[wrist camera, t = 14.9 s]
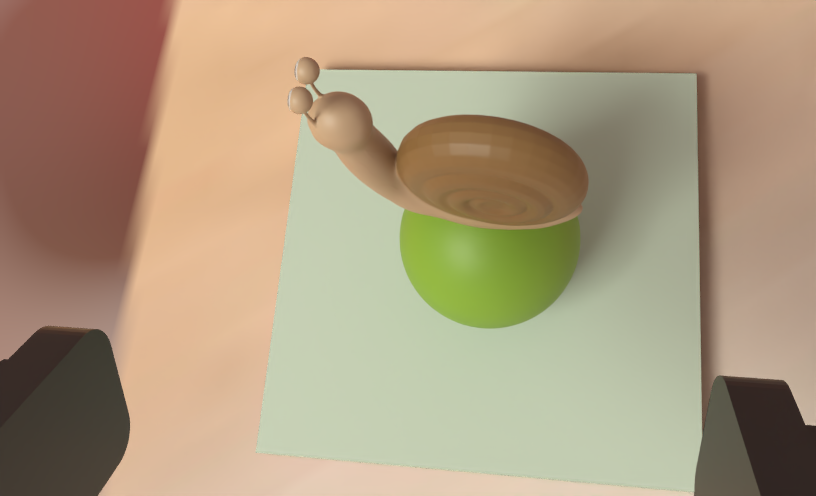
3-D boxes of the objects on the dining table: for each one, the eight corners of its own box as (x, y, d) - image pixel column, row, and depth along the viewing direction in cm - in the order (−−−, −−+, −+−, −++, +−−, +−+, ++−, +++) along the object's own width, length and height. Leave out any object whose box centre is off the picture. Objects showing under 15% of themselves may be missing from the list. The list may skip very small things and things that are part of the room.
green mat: (690, 87, 28) (696, 73, 27) (695, 492, 24) (702, 493, 23) (314, 82, 30) (308, 69, 29) (265, 453, 26) (255, 452, 25)
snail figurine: (398, 175, 28) (313, -39, 16) (582, 196, 26) (631, -19, 15) (370, 325, 26) (255, 205, 15) (563, 354, 25) (600, 249, 14)
